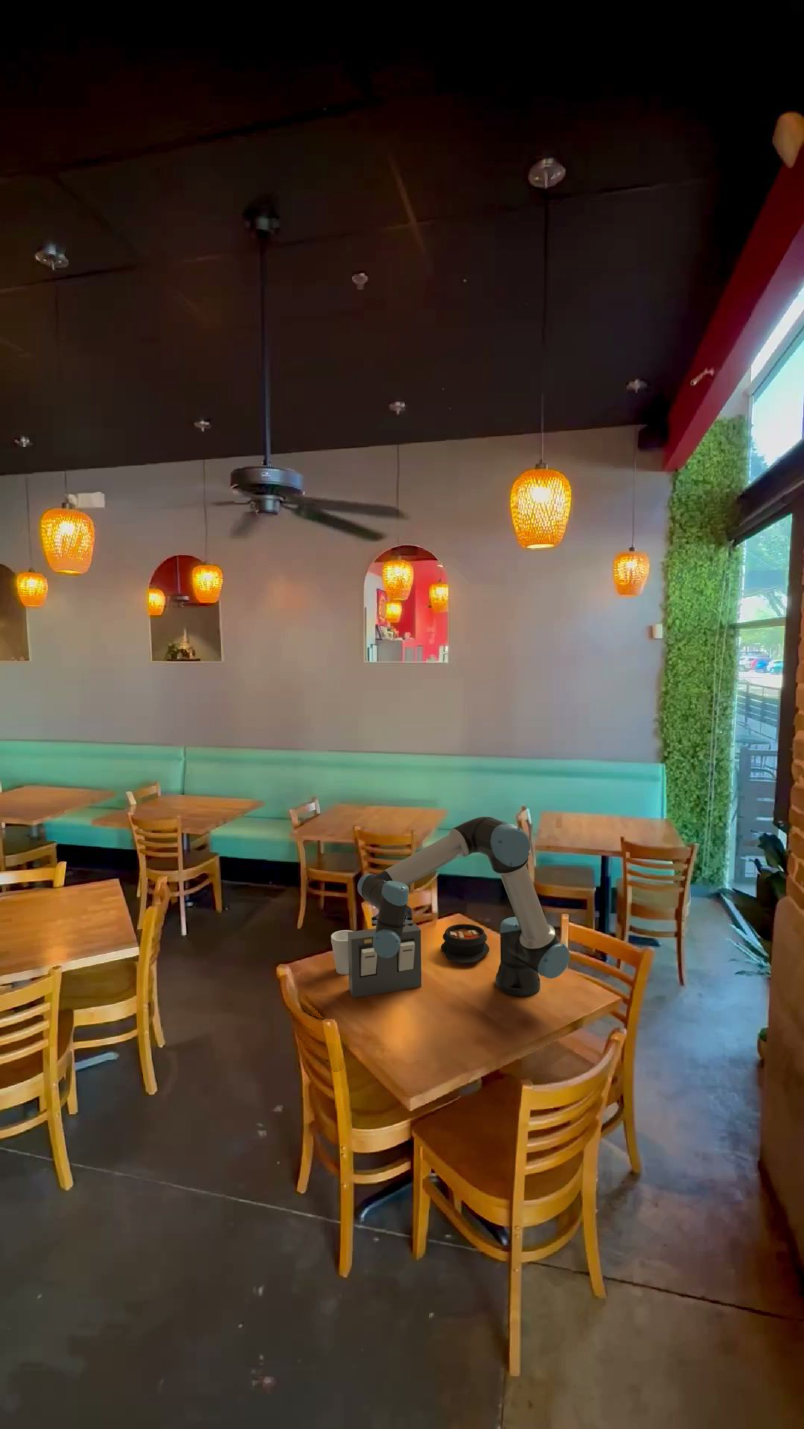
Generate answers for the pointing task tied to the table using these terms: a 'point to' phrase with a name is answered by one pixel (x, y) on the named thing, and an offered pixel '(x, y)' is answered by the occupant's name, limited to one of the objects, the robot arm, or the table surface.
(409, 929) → the switch panel
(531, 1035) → the table surface
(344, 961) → the foam cup
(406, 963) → the right rocker
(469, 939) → the casserole
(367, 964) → the left rocker
